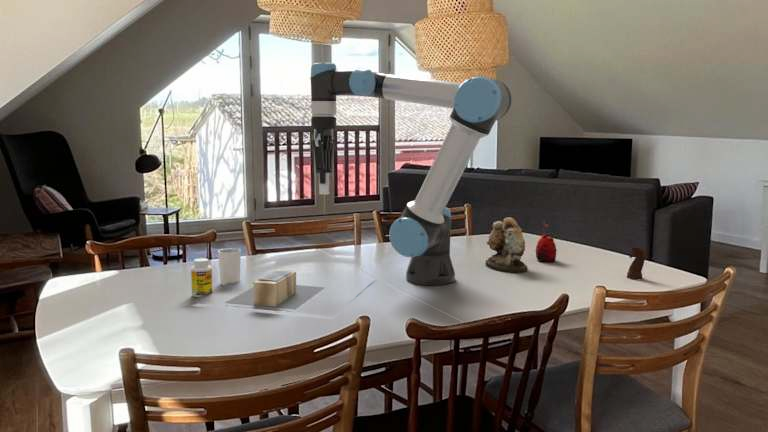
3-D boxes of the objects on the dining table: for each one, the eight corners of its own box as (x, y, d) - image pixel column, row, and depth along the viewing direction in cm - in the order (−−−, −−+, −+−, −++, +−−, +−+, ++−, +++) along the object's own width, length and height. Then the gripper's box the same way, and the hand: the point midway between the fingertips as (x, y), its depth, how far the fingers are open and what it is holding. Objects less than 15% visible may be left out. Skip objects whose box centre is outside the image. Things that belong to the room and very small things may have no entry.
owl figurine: (474, 263, 219) (476, 214, 217) (501, 260, 225) (503, 212, 222) (508, 274, 204) (510, 222, 201) (536, 271, 209) (538, 220, 207)
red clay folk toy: (560, 261, 223) (562, 219, 221) (546, 264, 219) (549, 221, 217) (543, 257, 229) (545, 216, 227) (530, 259, 225) (532, 218, 223)
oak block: (296, 270, 177) (274, 282, 164) (296, 292, 178) (275, 306, 165) (276, 268, 179) (253, 280, 166) (276, 290, 180) (254, 304, 167)
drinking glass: (245, 281, 192) (245, 249, 191) (233, 287, 186) (232, 253, 185) (226, 279, 195) (226, 247, 193) (214, 284, 188) (213, 252, 187)
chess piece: (630, 275, 204) (632, 244, 203) (646, 278, 201) (648, 247, 199) (624, 277, 201) (626, 247, 199) (640, 280, 197) (642, 249, 196)
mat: (325, 290, 184) (325, 287, 184) (295, 312, 163) (295, 309, 163) (262, 284, 189) (262, 282, 189) (225, 305, 168) (225, 302, 168)
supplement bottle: (195, 299, 174) (194, 262, 172) (189, 294, 178) (188, 258, 177) (215, 296, 177) (214, 260, 175) (209, 291, 181) (207, 256, 180)
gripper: (319, 115, 197) (320, 191, 201) (303, 115, 184) (304, 196, 188) (342, 116, 195) (342, 192, 199) (327, 116, 182) (328, 197, 186)
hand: (324, 194), depth 193 cm, fingers closed
